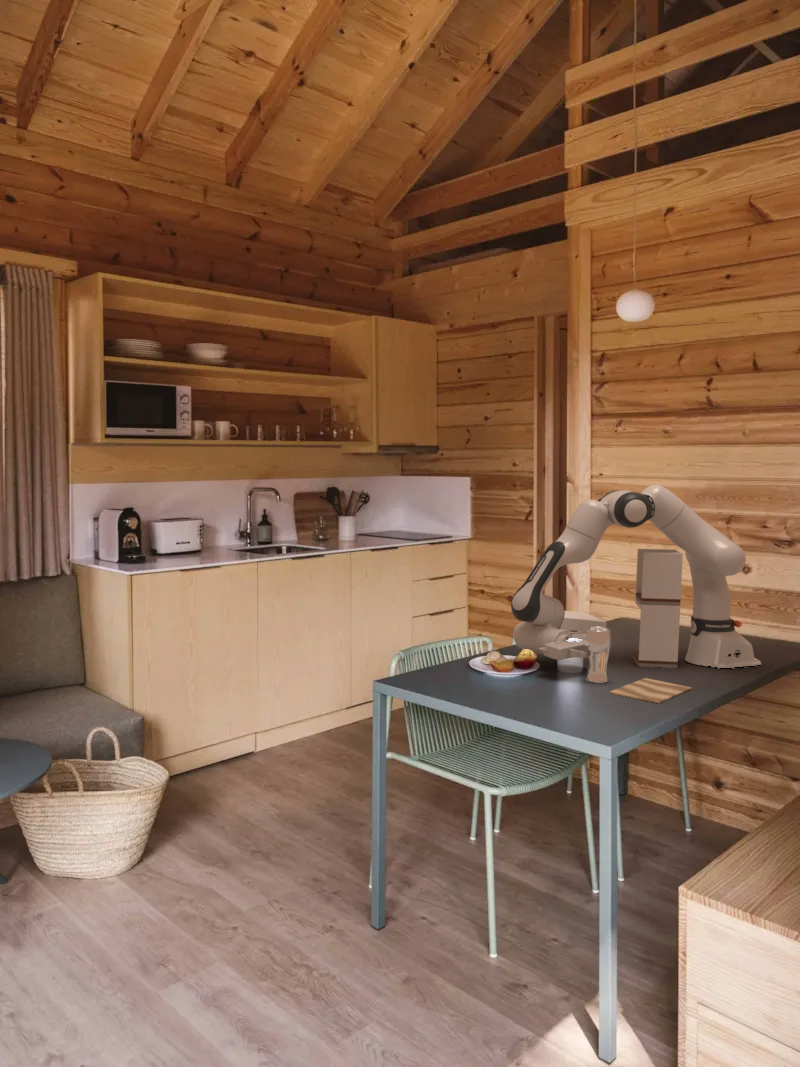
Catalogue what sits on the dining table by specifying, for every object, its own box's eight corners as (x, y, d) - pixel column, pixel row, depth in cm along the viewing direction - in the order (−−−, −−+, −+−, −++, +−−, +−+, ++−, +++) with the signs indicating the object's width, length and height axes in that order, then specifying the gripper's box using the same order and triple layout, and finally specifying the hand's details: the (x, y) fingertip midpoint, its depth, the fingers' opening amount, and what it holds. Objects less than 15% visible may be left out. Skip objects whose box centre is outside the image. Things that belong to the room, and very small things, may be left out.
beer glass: (612, 679, 249) (614, 628, 247) (604, 685, 243) (606, 632, 241) (588, 676, 252) (590, 625, 251) (580, 681, 246) (582, 629, 245)
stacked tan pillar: (670, 660, 274) (675, 549, 271) (677, 668, 263) (682, 553, 260) (633, 658, 275) (637, 548, 272) (638, 666, 265) (643, 552, 261)
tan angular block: (552, 634, 310) (553, 606, 309) (619, 650, 287) (620, 619, 286) (524, 639, 301) (525, 610, 300) (590, 656, 278) (592, 624, 277)
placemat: (644, 679, 249) (644, 678, 249) (691, 689, 240) (691, 687, 240) (609, 693, 235) (610, 691, 235) (658, 703, 225) (658, 702, 225)
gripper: (534, 638, 251) (572, 646, 241) (581, 629, 264) (618, 637, 253) (534, 659, 252) (571, 669, 241) (580, 650, 265) (617, 658, 254)
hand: (595, 653), depth 247 cm, fingers open, 8 cm apart
